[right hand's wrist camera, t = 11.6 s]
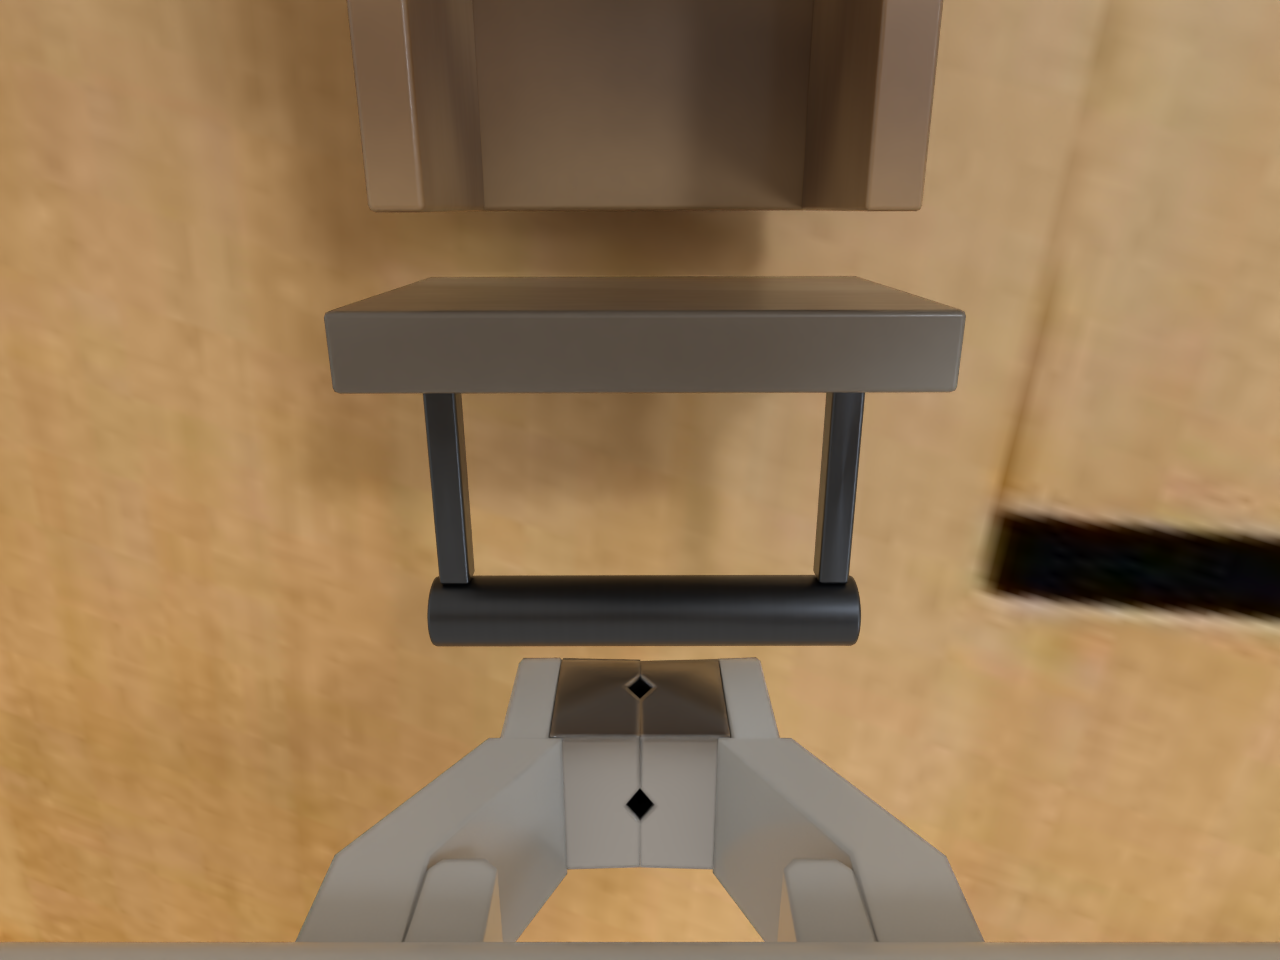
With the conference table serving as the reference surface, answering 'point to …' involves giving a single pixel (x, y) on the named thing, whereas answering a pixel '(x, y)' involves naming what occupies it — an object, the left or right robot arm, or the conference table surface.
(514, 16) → the drawer
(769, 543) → the conference table surface
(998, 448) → the conference table surface
